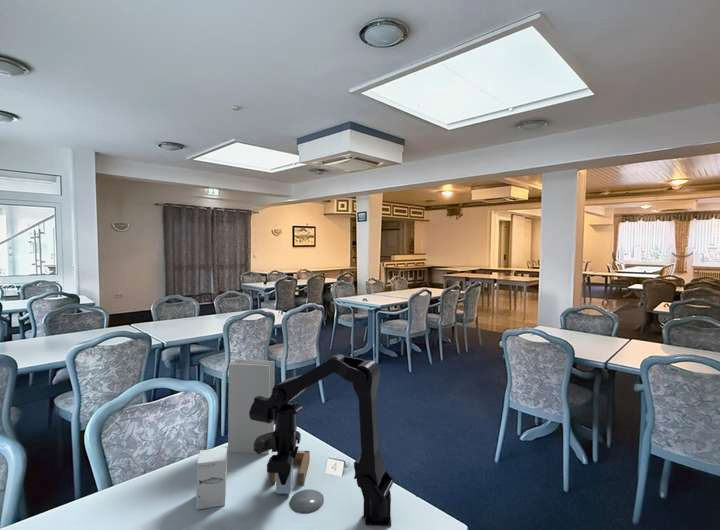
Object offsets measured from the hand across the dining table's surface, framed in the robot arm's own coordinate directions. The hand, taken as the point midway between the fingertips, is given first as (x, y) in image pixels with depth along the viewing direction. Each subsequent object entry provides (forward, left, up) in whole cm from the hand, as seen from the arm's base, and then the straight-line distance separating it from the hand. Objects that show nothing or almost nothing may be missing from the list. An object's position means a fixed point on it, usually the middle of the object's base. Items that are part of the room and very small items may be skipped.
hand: (284, 480), depth 110 cm
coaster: (-7, +4, -4) cm, 9 cm away
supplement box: (+19, +4, -4) cm, 20 cm away
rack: (0, -10, -4) cm, 11 cm away
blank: (0, 0, -2) cm, 2 cm away
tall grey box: (+16, -24, -4) cm, 29 cm away
